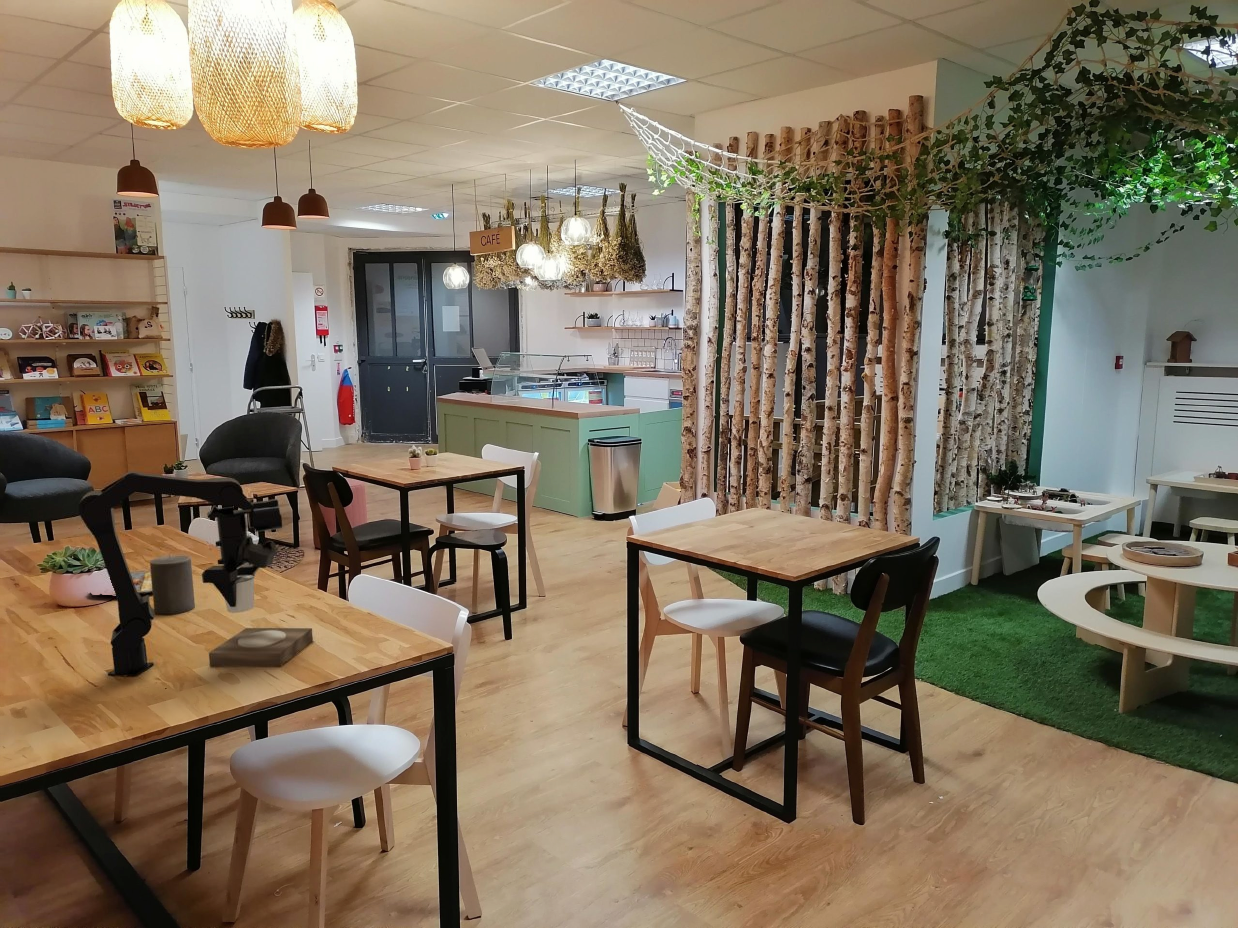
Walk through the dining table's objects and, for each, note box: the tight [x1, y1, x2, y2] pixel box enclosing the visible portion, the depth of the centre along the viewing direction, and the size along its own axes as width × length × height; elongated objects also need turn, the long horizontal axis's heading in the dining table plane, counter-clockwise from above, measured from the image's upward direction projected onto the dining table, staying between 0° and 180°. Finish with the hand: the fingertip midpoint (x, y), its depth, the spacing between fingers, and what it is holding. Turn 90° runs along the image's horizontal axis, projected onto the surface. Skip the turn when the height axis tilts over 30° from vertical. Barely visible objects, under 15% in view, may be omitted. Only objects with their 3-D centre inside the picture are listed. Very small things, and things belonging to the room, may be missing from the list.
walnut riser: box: [208, 627, 314, 667], centre depth 194 cm, size 16×16×4 cm
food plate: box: [130, 569, 152, 595], centre depth 249 cm, size 25×23×4 cm
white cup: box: [224, 575, 255, 614], centre depth 193 cm, size 7×7×7 cm
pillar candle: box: [149, 554, 196, 616], centre depth 227 cm, size 10×10×15 cm
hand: (240, 602), depth 194 cm, fingers closed on white cup, 6 cm apart
